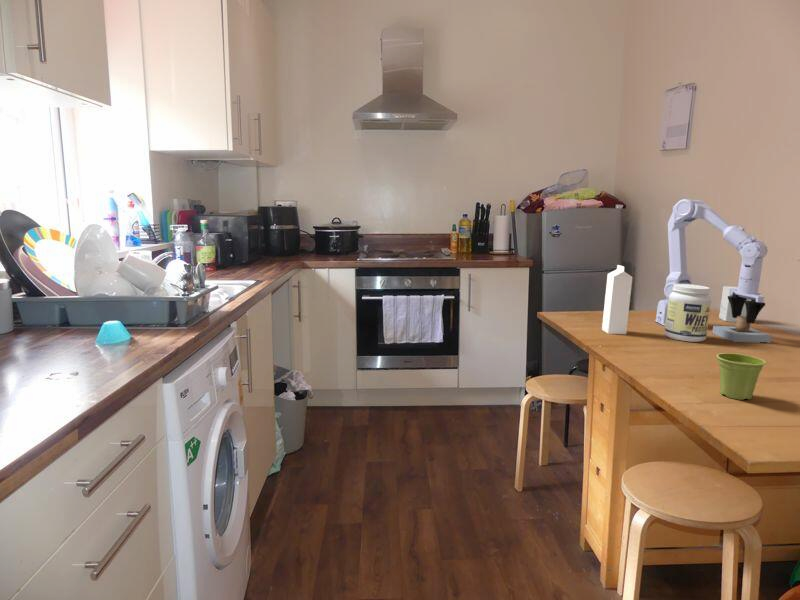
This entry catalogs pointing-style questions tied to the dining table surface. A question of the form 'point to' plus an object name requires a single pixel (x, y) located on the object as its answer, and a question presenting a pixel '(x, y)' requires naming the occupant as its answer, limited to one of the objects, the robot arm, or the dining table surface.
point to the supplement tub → (688, 313)
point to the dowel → (742, 324)
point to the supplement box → (728, 305)
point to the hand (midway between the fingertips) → (742, 320)
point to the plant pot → (738, 374)
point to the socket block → (741, 335)
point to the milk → (617, 301)
